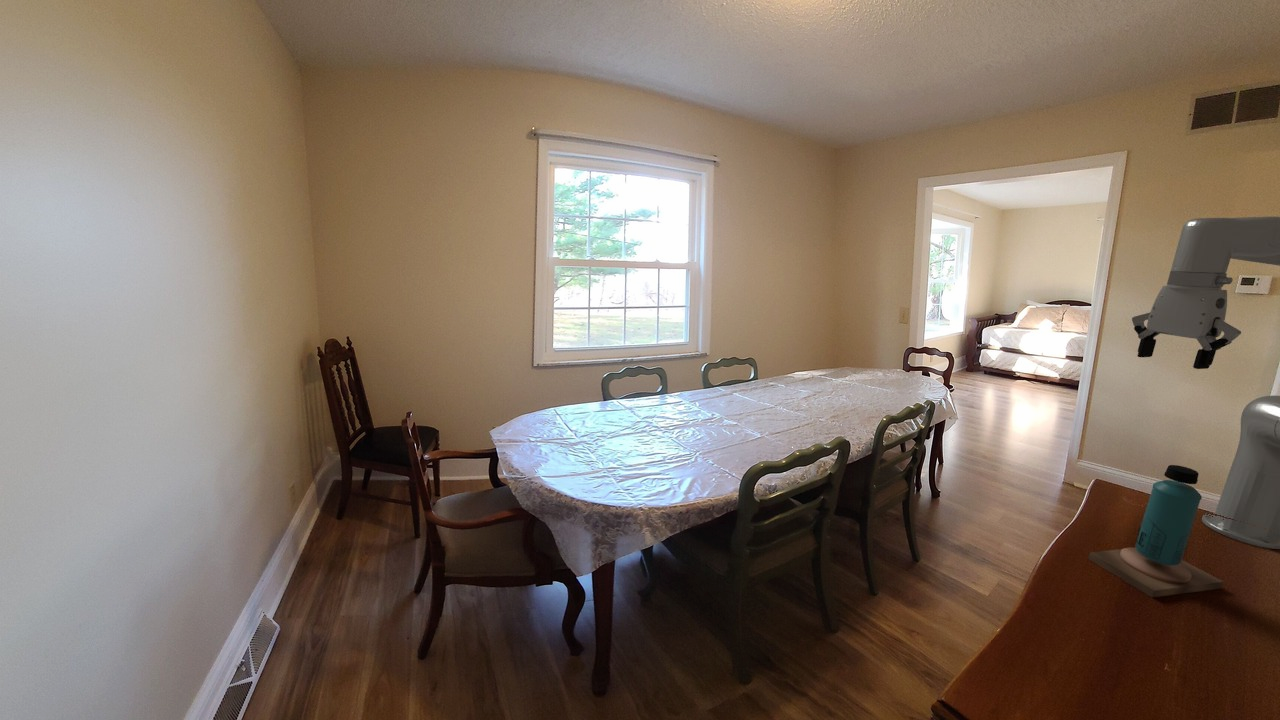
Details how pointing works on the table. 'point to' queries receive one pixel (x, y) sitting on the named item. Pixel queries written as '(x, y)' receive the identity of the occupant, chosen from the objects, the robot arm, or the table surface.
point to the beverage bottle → (1169, 517)
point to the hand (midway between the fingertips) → (1171, 362)
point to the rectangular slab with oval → (1154, 573)
